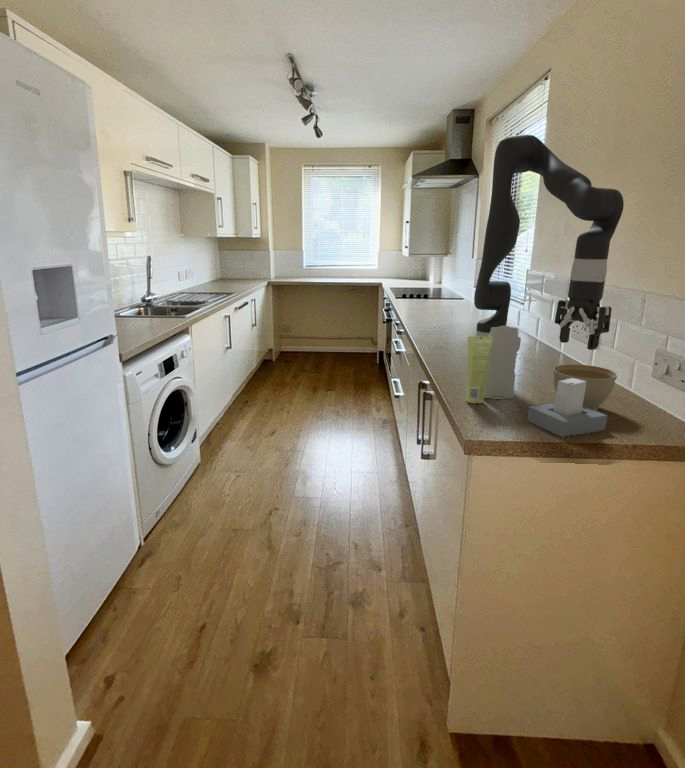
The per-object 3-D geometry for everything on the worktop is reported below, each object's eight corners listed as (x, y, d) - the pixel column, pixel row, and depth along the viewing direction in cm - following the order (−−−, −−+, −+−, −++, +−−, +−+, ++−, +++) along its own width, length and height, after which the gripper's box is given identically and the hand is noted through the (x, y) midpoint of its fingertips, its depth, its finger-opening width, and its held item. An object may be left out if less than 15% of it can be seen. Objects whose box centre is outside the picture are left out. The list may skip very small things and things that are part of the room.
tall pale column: (511, 395, 150) (519, 324, 144) (516, 399, 146) (525, 326, 140) (477, 395, 150) (484, 324, 143) (481, 400, 146) (488, 326, 140)
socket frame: (527, 421, 129) (529, 406, 128) (568, 414, 134) (570, 401, 133) (562, 437, 118) (564, 422, 117) (604, 430, 123) (607, 415, 122)
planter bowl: (548, 396, 150) (552, 361, 147) (606, 402, 145) (613, 367, 141) (548, 412, 136) (553, 374, 133) (614, 420, 130) (621, 381, 127)
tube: (471, 397, 148) (477, 333, 143) (487, 401, 145) (493, 336, 139) (462, 401, 144) (467, 336, 139) (478, 405, 141) (484, 338, 135)
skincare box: (564, 420, 129) (571, 376, 126) (580, 426, 126) (587, 381, 122) (550, 425, 126) (556, 380, 123) (566, 430, 123) (572, 384, 119)
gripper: (552, 276, 121) (544, 341, 125) (601, 281, 108) (589, 353, 113) (575, 276, 123) (566, 339, 128) (625, 280, 111) (613, 350, 115)
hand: (577, 345), depth 120 cm, fingers open, 8 cm apart
